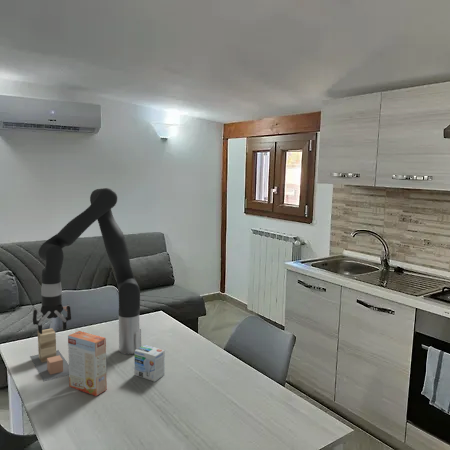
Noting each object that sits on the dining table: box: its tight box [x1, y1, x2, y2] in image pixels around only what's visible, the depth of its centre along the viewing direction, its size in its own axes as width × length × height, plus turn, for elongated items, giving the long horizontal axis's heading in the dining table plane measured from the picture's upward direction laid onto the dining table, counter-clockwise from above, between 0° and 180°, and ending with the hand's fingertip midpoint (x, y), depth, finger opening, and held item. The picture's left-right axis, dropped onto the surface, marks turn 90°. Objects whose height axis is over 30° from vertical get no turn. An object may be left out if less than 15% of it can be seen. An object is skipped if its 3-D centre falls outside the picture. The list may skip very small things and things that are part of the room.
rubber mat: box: [29, 349, 69, 382], centre depth 181 cm, size 26×12×1 cm, turn 35°
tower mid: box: [37, 327, 57, 349], centre depth 186 cm, size 6×6×6 cm
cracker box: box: [67, 330, 108, 397], centre depth 162 cm, size 14×6×21 cm, turn 62°
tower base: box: [37, 344, 57, 362], centre depth 186 cm, size 6×6×6 cm
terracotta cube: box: [47, 355, 63, 375], centre depth 176 cm, size 5×5×5 cm
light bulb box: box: [133, 344, 166, 382], centre depth 174 cm, size 11×7×11 cm, turn 62°
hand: (52, 331), depth 174 cm, fingers open, 8 cm apart
